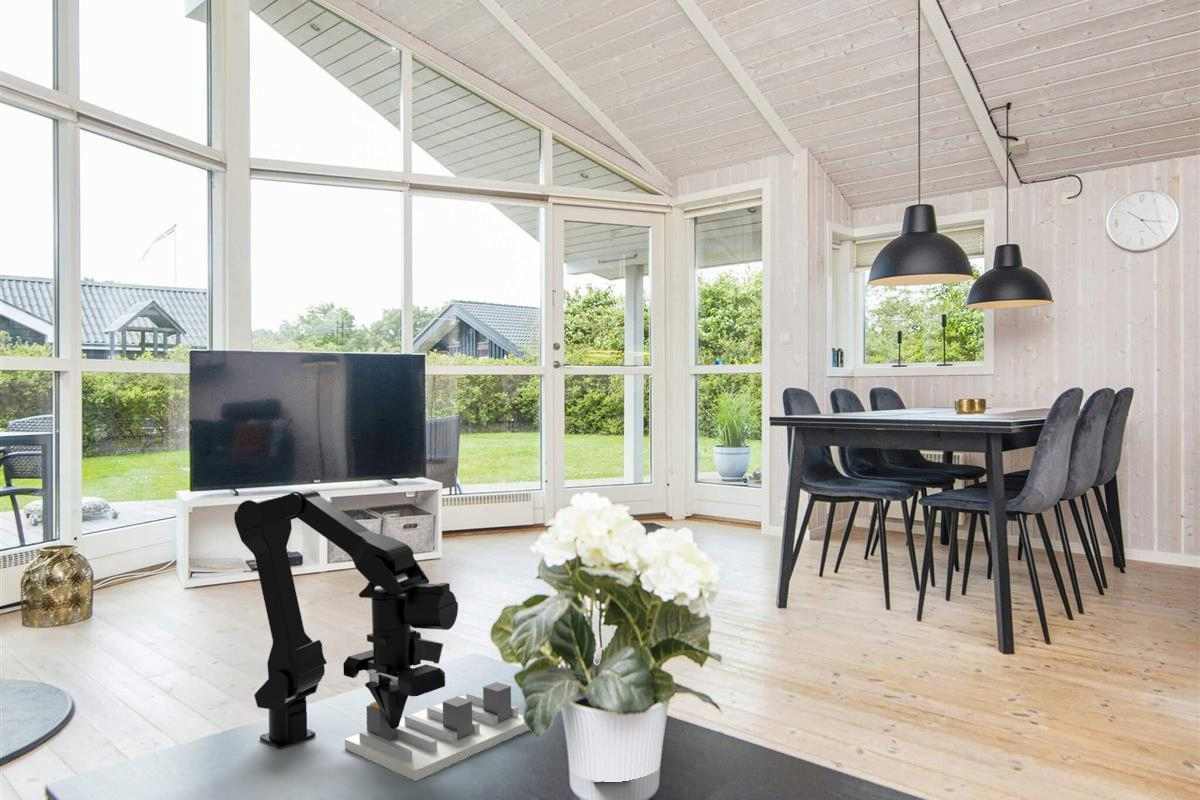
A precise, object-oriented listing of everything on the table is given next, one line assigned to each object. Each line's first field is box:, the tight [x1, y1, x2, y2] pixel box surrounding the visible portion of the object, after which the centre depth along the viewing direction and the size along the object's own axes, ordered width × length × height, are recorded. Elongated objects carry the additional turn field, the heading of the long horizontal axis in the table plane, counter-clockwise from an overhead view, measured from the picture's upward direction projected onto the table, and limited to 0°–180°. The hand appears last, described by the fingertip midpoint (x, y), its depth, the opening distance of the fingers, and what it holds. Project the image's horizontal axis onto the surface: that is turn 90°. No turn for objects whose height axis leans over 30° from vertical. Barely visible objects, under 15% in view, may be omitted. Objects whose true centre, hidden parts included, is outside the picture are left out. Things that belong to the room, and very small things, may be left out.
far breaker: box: [482, 681, 512, 722], centre depth 135 cm, size 4×3×5 cm
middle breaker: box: [442, 696, 472, 739], centre depth 128 cm, size 4×3×5 cm
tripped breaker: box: [366, 701, 397, 740], centre depth 127 cm, size 4×3×5 cm
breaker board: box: [344, 691, 530, 782], centre depth 131 cm, size 18×24×3 cm
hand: (394, 727), depth 125 cm, fingers closed
